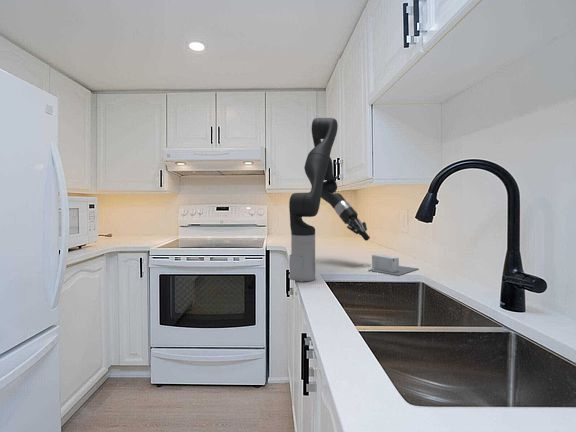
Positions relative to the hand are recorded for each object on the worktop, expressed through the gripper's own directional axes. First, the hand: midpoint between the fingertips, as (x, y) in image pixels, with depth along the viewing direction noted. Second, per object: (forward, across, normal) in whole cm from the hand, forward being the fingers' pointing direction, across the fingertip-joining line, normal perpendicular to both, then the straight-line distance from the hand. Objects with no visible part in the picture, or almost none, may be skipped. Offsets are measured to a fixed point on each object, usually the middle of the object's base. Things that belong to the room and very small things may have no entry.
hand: (367, 239), depth 154 cm
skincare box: (+9, -1, +4) cm, 10 cm away
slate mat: (+18, +1, 0) cm, 18 cm away
